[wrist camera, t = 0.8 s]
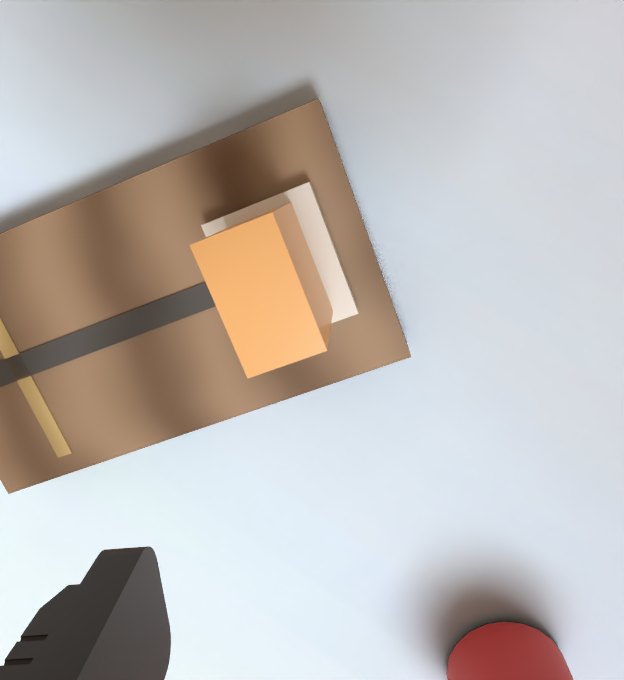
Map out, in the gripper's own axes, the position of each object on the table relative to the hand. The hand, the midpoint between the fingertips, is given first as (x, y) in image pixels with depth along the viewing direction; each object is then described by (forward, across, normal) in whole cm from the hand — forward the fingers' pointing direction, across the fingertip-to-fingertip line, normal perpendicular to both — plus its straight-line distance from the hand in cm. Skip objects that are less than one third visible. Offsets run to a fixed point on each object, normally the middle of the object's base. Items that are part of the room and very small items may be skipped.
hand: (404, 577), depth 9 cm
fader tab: (+18, +3, -3) cm, 19 cm away
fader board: (+21, +10, -1) cm, 23 cm away
